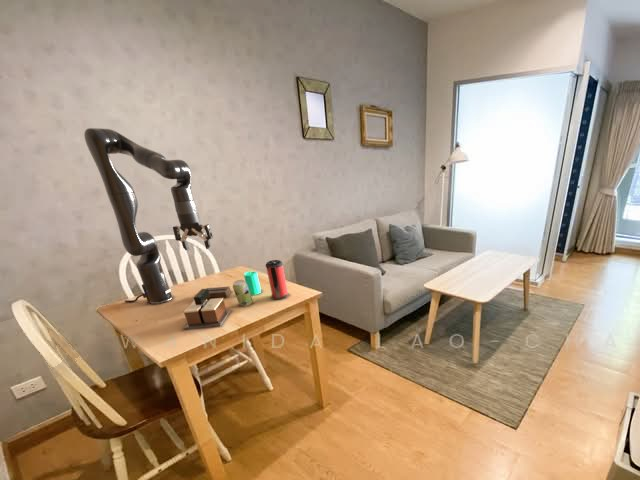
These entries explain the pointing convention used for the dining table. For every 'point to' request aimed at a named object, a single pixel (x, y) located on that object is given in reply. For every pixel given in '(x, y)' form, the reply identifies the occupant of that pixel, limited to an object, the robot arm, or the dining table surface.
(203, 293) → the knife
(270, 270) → the speaker
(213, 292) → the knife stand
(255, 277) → the candle
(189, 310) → the split wooden block
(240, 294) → the beverage can
